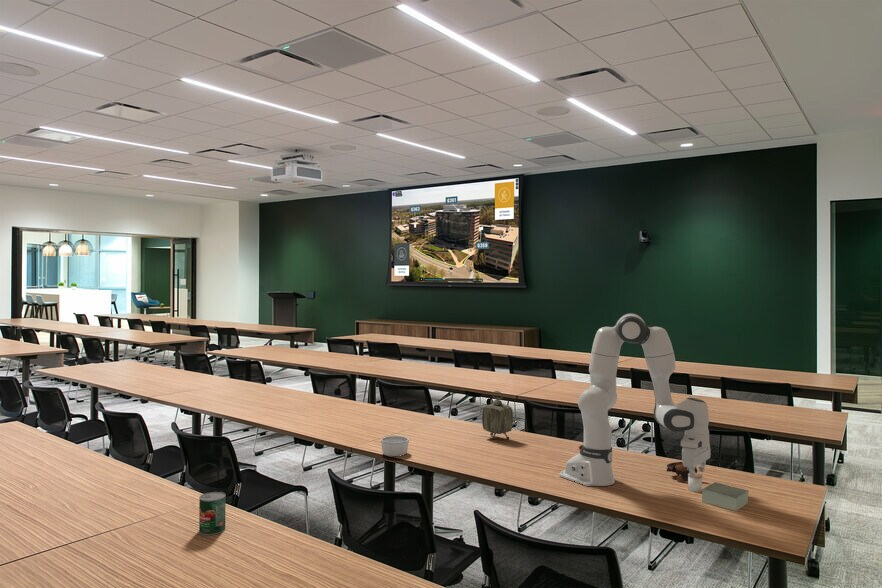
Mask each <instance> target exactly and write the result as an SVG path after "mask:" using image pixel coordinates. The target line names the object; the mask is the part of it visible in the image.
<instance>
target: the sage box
mask: <svg viewBox="0 0 882 588" xmlns="http://www.w3.org/2000/svg"><path fill="white" fill-rule="evenodd" d="M749 491H750V490H747V489H744V488H739V487H736V486H732V485H728V484H724V483H719V482H713V483H711V484H709V485H707V486H705V487H703V488H702V491H701V502H702V503H704V504H707V505H711V506H715V507H718V508H719V507H720V508H723V509H726V510H730V511H733V512H737V511H739V510H740V509H741V508H743V507H744V506H746V505H747V504H749Z"/></svg>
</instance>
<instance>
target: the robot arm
mask: <svg viewBox="0 0 882 588" xmlns="http://www.w3.org/2000/svg"><path fill="white" fill-rule="evenodd" d="M624 342H626V343H629V344H636V345H641V347H642V350H643V354H644V355H643V356H644V359H645V362H646V366H647V369H648V372H649V375H650V378H651V381H652V388H653V394H654V400H655V401H654V402H655V404H654V409H653V418H654V419H655V421H656V422H657V424H659V425H660V426H662V427H664V428H665V429H667V430H668V431H669V432H675V433H677V432H684V435H683V437H682V439H681V440H680V447H682V449H681V462H683V465H684V467H688V469H689V472H690V477H693V478H694V477H696V472H695V470H694V469H695V467H697V466H698V472H700V473H703V472H706V471H705V467H706V464H707V461H708V460H709V459H710V458H711V454H712V453H711V444H710V443H711V442H710V430H709V423H710V418H709V417H710V416H709V415H710V414H709V413H710V412H709V407H708V404H707V402H706V401H704V400H702V399H700V398H696V397H686V398H685V399H684V400H683V401H681V402H679V403H676V404H675V403H674V401H673V399H672V393H671V388H670V381H669V380H670V377H671V375H672V374H673V373H674V372H675V370H676V356H675V352H674V349H673V345H672V341H671V339H670V336H669V334H668V332H667V330H666V329H665V328H663V327H661V326H648V325H647V324H646V323H645V321H644V319H643V318H642V317H641V316H640V315H638V314H637V313H634V312H628V313H626V314H623V315H622V316H620V317H619V319H618V320H617V321H616V323H615V324H614V325H613V326H603V327H600V328H598V330H597V331H596V333H595V336H594V339H593V342H592V346H591V347H592V348H591V354H590V359H589V365H588V366H589V367H588V372H589V380H590V382H589V383H590V385H589V388H587V389H584V390H583V392H582V393H580V395H579V397H578V399H577V405H578V409H579V410H580V414H581V417H582V424H583V444H581V445H579V446H577V450H579V452H578V453H577V454H576V455H574V456H572V457H571V458H568V460H567V461H566V464H565V467H564V469H563V470H561V471H560V472H559V477H560V478H563V479H566V480H569V481H571V482H574V481H575V482H574V483H577V484H579V483H580V484H579V485H582V484H583V486H584V487H592V486H595V487H596V486H597V487H605V486H607V487H608V486H611V485H614V484H615V483H616V482H615V477H614V474H613V465H612V461H613V447H612V427H611V425H610V421H609V414H608V413H609V410H610V409H612V408H613V407H614V405H615V404H616V402H617V399H618V394H617V393H618V392H617V373H618V372H617V371H618V366H619V360H620V352H621V348H622V345H623V343H624ZM688 469H687V470H688Z"/></svg>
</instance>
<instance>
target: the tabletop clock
mask: <svg viewBox="0 0 882 588" xmlns="http://www.w3.org/2000/svg"><path fill="white" fill-rule="evenodd" d="M495 393H496V394H497V393H498V394H500V395H501V397H499V396H496V397H495V396H494V394H495ZM491 396H492V397H493V399H494V400H493V401H492V404H486V405H484V406H483V408H482V415H481V423H482V429H483V430H484V431H487V432H488V433H490V434H489V435H490V436H491V435H493V437H492V439H493V440H494V439H495V440H496V435H502V434H503V435H504V436H505V437H506V440H507V439H509V440H510V437H509V436H508V435H507V433H508V432H512V430H513V427H514V426H513V425H514V424H513V423H514V414H513V413H514V411H513V408H512V407H511V406H510V405H508V404H504V403H503V402H502V401H501V400H502V399H503V398H504V395H503V393H502V392H501V391H500V390H499V391H498V390H496V391H495V390H494V391H493V392H492V395H491Z"/></svg>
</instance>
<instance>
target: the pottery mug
mask: <svg viewBox="0 0 882 588" xmlns="http://www.w3.org/2000/svg"><path fill="white" fill-rule="evenodd" d="M666 467H667V468H666V472H669V473H671V472H672V473H675V474H676V475H677V476H676V481H677V482H678V483H682V482H688V473H690V472H689V469H688V467H684V465H683V462H682V461H676V462H675V461H674V462H670V463H667V464H666ZM694 470H695V472H696V473H698V472H699V469H698V468H697V466H695V469H694Z"/></svg>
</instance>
